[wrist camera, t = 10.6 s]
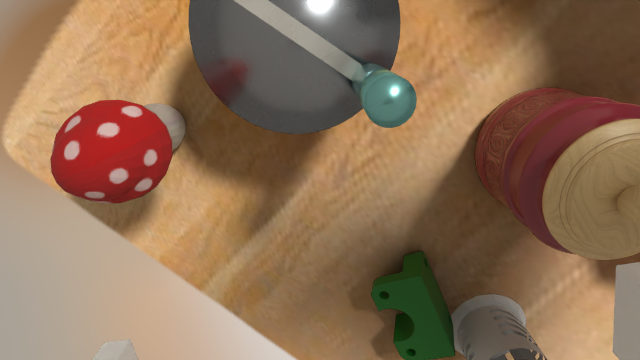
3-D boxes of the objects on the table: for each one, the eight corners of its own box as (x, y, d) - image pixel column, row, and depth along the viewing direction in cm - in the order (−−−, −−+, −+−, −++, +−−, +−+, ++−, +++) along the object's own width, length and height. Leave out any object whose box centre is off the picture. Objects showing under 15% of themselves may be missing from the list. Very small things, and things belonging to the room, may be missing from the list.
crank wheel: (181, 57, 40) (72, 73, 22) (269, -110, 35) (217, -249, 18) (328, 151, 42) (329, 228, 25) (426, 6, 38) (509, -20, 21)
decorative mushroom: (177, 69, 43) (103, 85, 29) (219, 144, 46) (171, 192, 31) (96, 112, 45) (-11, 147, 30) (142, 182, 47) (62, 244, 33)
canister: (460, 107, 44) (543, 150, 27) (587, 68, 43) (756, 88, 26) (483, 217, 48) (568, 313, 31) (600, 185, 47) (755, 267, 30)
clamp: (382, 255, 55) (362, 271, 46) (427, 244, 52) (415, 259, 44) (410, 347, 54) (395, 381, 45) (458, 339, 51) (451, 373, 43)
